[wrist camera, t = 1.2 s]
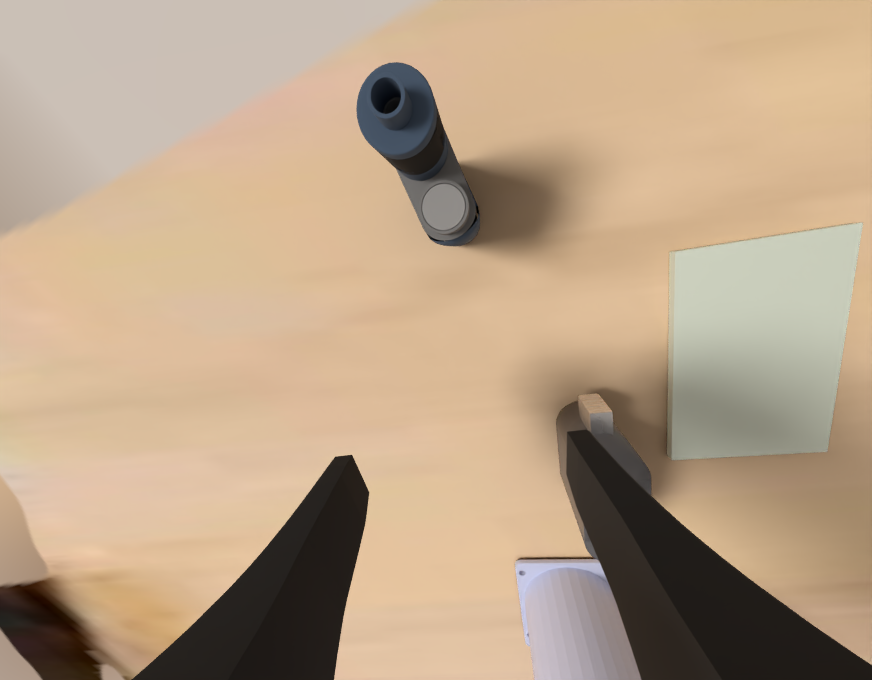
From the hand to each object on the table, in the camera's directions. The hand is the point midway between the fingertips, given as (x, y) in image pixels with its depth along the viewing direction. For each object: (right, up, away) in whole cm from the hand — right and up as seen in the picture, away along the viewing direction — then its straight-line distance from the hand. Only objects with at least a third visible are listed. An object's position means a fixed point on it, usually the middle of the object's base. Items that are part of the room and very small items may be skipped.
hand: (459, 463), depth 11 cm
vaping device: (0, +13, +9) cm, 16 cm away
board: (+19, +3, +9) cm, 21 cm away
